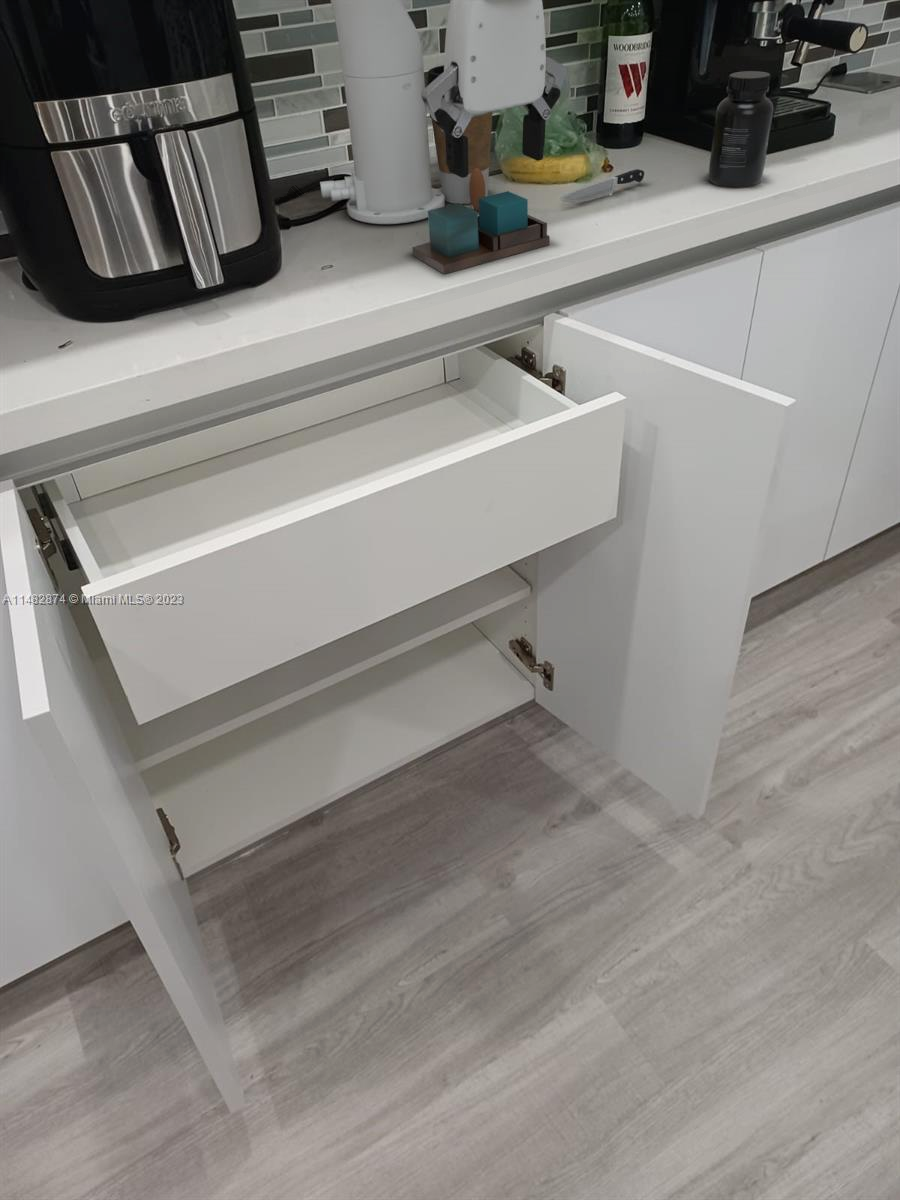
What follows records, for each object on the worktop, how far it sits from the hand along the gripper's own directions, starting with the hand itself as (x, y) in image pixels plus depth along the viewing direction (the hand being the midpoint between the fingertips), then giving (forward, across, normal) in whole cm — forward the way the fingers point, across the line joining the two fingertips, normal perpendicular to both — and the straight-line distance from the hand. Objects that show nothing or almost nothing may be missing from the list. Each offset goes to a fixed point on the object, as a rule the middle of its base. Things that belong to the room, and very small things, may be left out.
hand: (496, 165), depth 95 cm
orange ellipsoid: (+9, -4, -11) cm, 15 cm away
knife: (+9, -19, -5) cm, 21 cm away
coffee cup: (+9, -6, -17) cm, 20 cm away
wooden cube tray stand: (+8, +3, +1) cm, 9 cm away
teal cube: (+7, 0, +1) cm, 7 cm away
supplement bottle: (+8, -36, +1) cm, 37 cm away
